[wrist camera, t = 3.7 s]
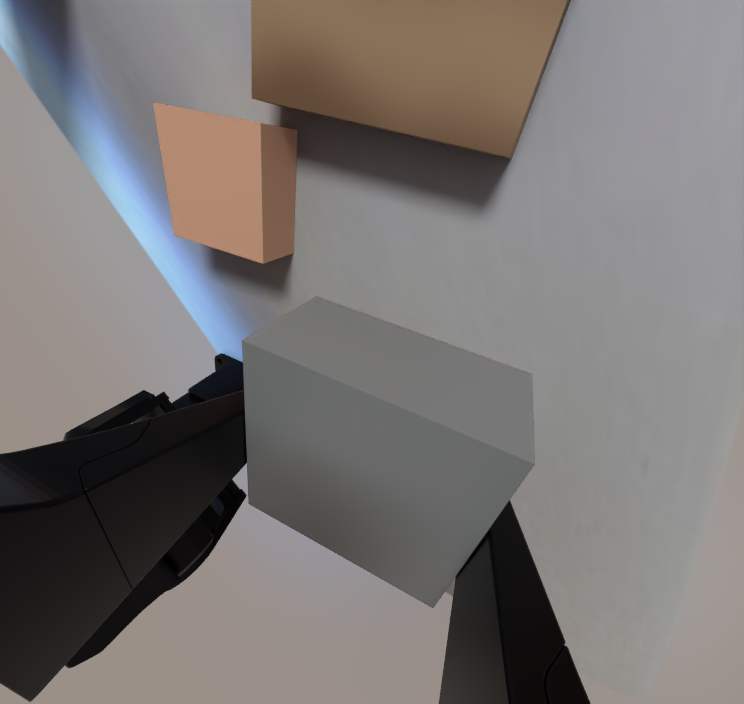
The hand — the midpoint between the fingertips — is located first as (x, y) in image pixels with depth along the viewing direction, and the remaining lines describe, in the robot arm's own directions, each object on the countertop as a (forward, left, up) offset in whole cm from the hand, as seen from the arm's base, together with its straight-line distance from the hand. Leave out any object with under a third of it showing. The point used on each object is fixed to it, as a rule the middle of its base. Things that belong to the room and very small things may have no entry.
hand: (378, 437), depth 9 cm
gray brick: (0, 0, -1) cm, 1 cm away
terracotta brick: (+3, +13, -10) cm, 16 cm away
